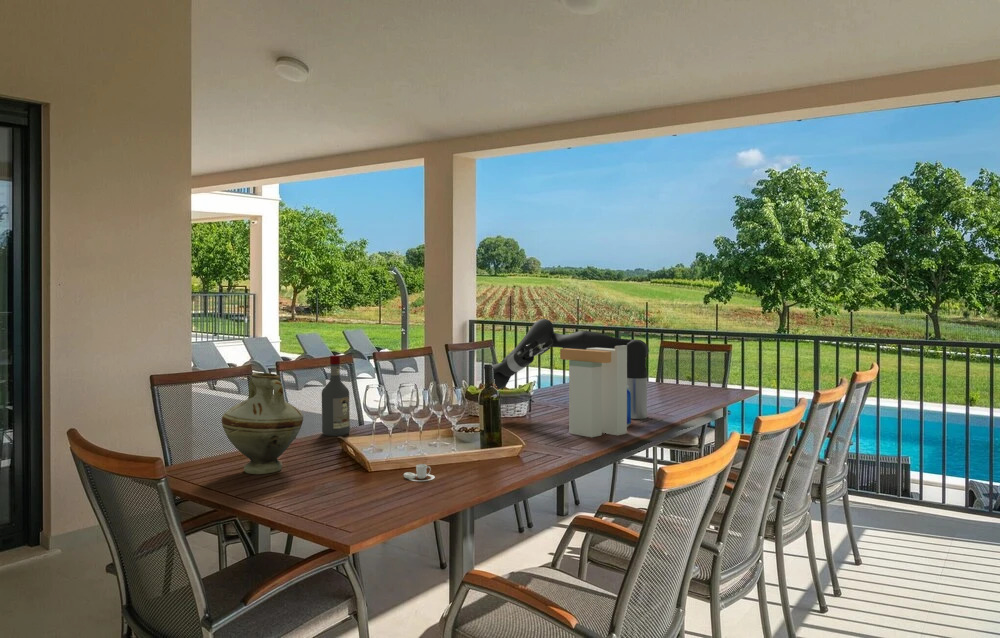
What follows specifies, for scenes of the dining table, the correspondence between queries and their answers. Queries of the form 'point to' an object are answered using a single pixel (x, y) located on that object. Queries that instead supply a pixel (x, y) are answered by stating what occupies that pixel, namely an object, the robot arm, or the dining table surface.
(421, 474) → the teacup and saucer
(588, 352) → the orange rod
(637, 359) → the robot arm
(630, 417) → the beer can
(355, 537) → the dining table surface
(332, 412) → the liquor
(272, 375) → the amphora
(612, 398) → the white post
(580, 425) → the green-topped post
